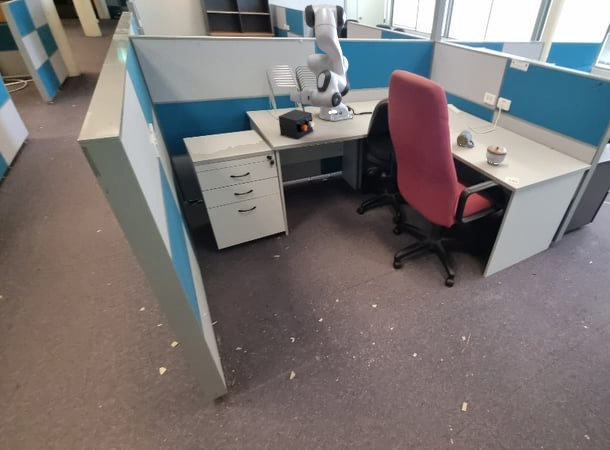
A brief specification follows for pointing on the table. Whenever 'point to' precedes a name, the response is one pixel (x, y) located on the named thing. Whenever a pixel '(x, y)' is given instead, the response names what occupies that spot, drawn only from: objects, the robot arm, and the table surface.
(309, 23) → the robot arm
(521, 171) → the table surface
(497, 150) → the trinket box
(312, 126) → the ivory button
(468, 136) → the grey rounded lump
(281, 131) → the toaster oven
